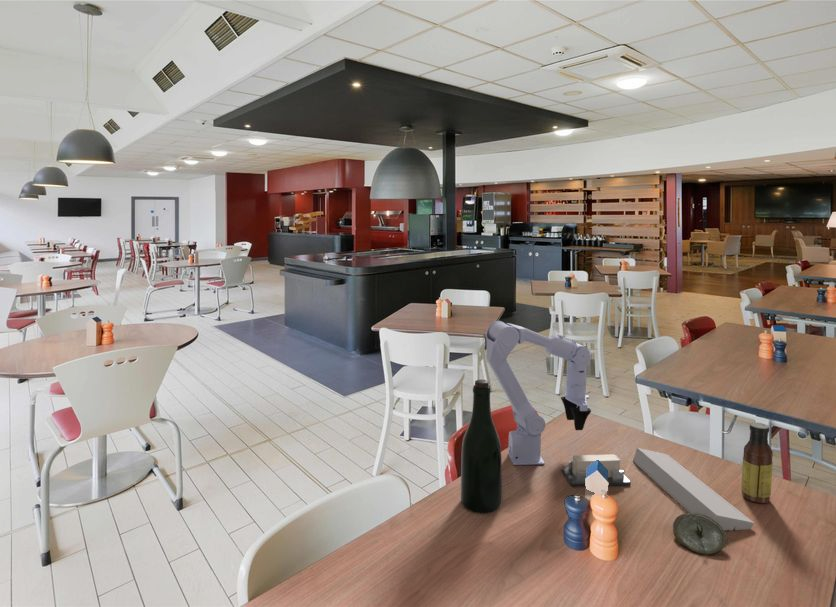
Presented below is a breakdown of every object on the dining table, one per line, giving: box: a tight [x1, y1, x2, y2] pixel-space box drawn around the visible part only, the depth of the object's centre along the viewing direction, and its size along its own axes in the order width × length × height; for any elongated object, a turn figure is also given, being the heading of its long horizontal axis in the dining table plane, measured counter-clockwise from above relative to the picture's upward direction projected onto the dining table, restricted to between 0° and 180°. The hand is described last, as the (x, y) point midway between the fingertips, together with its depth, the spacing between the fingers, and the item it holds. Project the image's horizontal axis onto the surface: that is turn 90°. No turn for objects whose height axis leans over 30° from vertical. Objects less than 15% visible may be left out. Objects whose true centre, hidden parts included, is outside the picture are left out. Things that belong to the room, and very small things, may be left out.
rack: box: [561, 460, 632, 488], centre depth 136 cm, size 16×9×4 cm, turn 91°
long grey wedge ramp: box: [632, 447, 755, 532], centre depth 129 cm, size 34×5×10 cm
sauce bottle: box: [741, 421, 774, 504], centre depth 124 cm, size 6×6×20 cm
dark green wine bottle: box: [460, 379, 503, 514], centre depth 122 cm, size 10×10×33 cm
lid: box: [672, 512, 728, 555], centre depth 108 cm, size 11×10×5 cm
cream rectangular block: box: [572, 453, 621, 477], centre depth 136 cm, size 12×4×5 cm, turn 91°
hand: (574, 424), depth 150 cm, fingers open, 7 cm apart
